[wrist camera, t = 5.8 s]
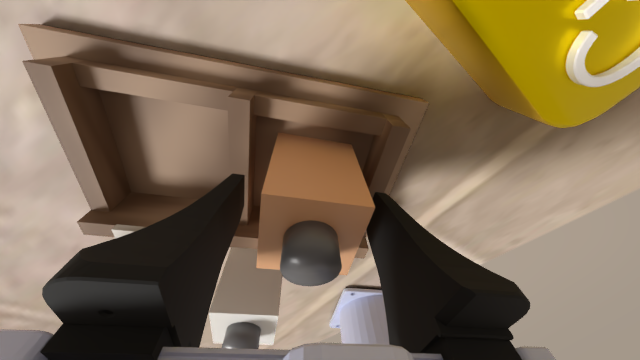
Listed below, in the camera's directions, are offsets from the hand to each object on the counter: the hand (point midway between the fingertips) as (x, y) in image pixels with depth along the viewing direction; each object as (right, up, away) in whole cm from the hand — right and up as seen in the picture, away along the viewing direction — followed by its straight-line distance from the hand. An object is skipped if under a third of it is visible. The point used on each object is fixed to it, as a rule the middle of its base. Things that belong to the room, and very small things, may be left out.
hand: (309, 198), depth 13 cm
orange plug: (0, +2, +2) cm, 3 cm away
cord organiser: (-4, +3, +3) cm, 6 cm away
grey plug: (-5, -6, +9) cm, 12 cm away
